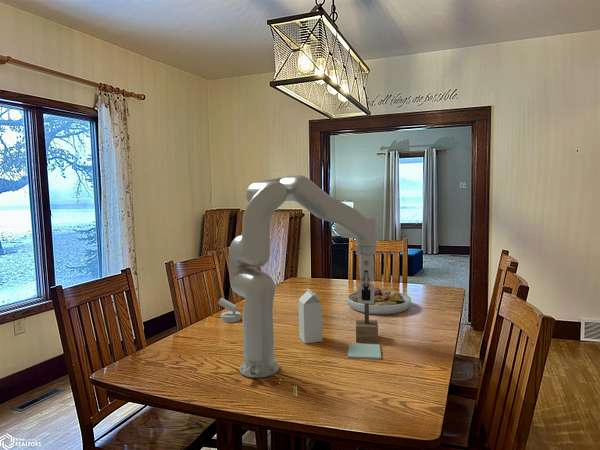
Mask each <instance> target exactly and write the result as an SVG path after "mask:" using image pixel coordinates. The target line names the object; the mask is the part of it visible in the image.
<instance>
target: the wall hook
mask: <svg viewBox="0 0 600 450" xmlns="http://www.w3.org/2000/svg"><path fill="white" fill-rule="evenodd" d="M217 304H218V305H220V306H222V307H223V308H225V309H227V310H229V311H225V312H222V313H221V314H220V321H221V322H223V323H227V324H228V323H229V324H230V323H237V322H240V321H241V320H242V316H241V314H242V313H241V312H239V310H238V309H239V308H238V306H237V305H235V304H234V303H232V302H231V301H229V300H227V299H225V298H224V297H221V298H219V300H218V301H217Z"/></svg>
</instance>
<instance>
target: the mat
mask: <svg viewBox="0 0 600 450" xmlns="http://www.w3.org/2000/svg"><path fill="white" fill-rule="evenodd" d="M347 358H348V359H365V360H366V359H369V360H382V353H381V344H378V343H358V342H355V343H354V342H352V343H350V342H349V343H348V349H347Z"/></svg>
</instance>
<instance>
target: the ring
mask: <svg viewBox="0 0 600 450" xmlns="http://www.w3.org/2000/svg"><path fill="white" fill-rule="evenodd" d="M374 288H375V283H370V290H371V293H370V301H366V300H362V283H357V292H358V303H371V304H374Z"/></svg>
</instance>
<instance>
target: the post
mask: <svg viewBox="0 0 600 450" xmlns="http://www.w3.org/2000/svg"><path fill="white" fill-rule="evenodd" d="M364 304H365V313H364V319H356V320H355V343H367V344H378V343H379V325H378V319H370V314H369V303H364Z"/></svg>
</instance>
